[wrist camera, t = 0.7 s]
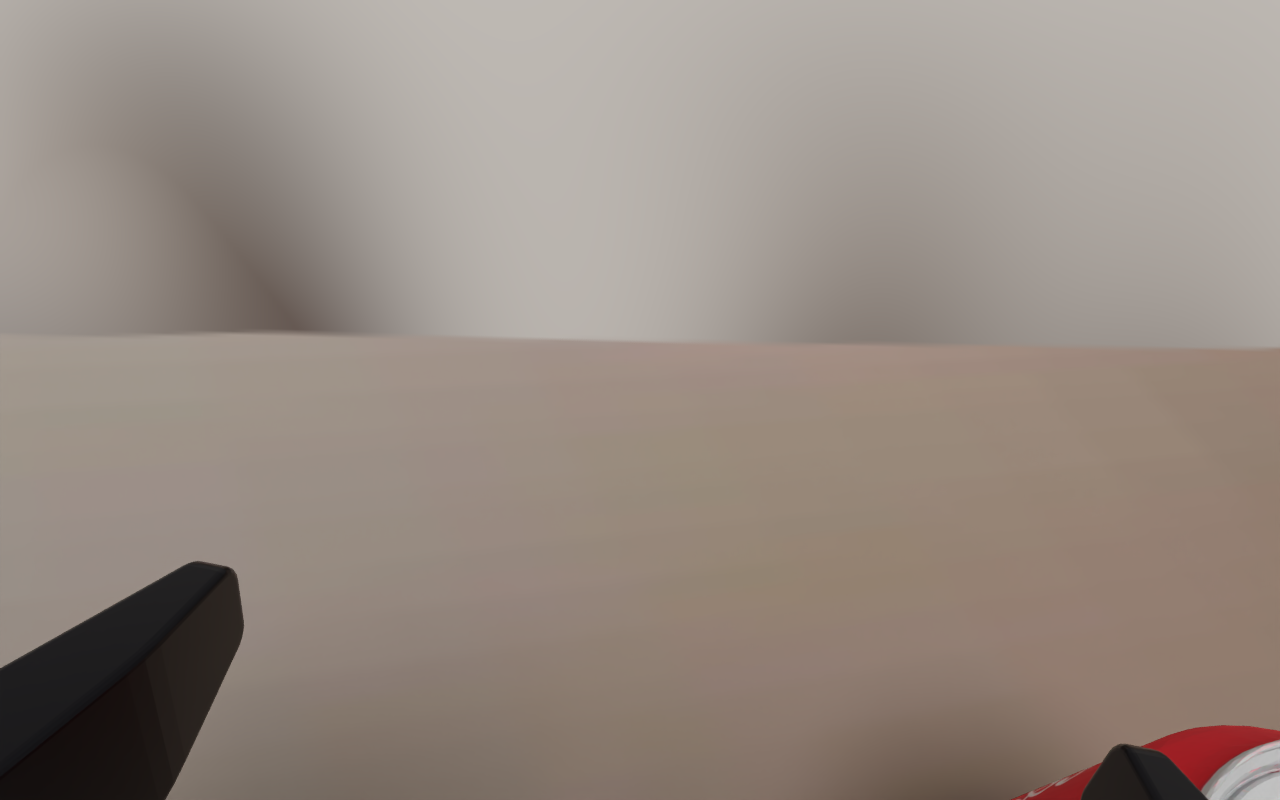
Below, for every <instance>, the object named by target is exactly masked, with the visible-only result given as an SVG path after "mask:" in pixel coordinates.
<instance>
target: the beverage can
mask: <svg viewBox="0 0 1280 800" xmlns="http://www.w3.org/2000/svg"><path fill="white" fill-rule="evenodd" d="M1141 747H1144V748H1149V749H1154V750H1157V751H1160V752H1162V753H1163V754H1165V755H1166V756H1167V757H1168V758H1169V759H1171V760H1172V761H1173V762H1174V764H1175V765H1176V766H1177V767H1178V768H1179V769H1180V770H1181V771H1182V772H1183V773H1184V774H1185V775H1186V776H1187V777H1188V778H1189V779H1190V781H1191V782H1192V783H1193V784H1194V785H1195V786H1196V787H1197V788H1198V789H1199V790H1200V791H1201V792H1202V793H1203V794H1204V795H1205V796H1206V798H1207V799H1208V800H1280V731H1276V730H1270V729H1264V728H1258V727H1251V726H1226V725H1222V726H1209V727H1199V728H1193V729H1188V730H1184V731H1181V732H1178V733H1174V734H1171V735H1168V736H1166V737H1163V738H1161V739H1158V740H1156V741H1153V742H1151V743H1148V744H1146V745H1144V746H1141ZM1100 765H1101V763H1099V764H1097V765H1095V766H1092V767H1090V768H1087V769H1085V770H1082V771H1080V772H1077V773H1075V774H1072V775H1070V776H1068V777H1065V778H1063V779H1060V780H1058V781H1055V782H1053V783H1050V784H1048V785H1046V786H1043V787H1041V788H1038V789H1036V790H1033V791H1031V792H1028V793H1026V794H1024V795H1021V796H1019V797H1016V798H1014V799H1011V800H1080V799H1081V795H1082V792H1083V790H1084V788H1085V787H1086V785H1087V784H1088V782H1089V781H1090V779H1091V778H1092V776H1093V775H1094V773H1095V772H1096V770H1097V769H1098V768H1099V766H1100Z"/></svg>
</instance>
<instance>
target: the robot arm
mask: <svg viewBox="0 0 1280 800" xmlns="http://www.w3.org/2000/svg"><path fill="white" fill-rule="evenodd" d="M243 629H244V620H243V612H242V605H241V598H240V591H239V584H238V578H237V574H236V573H235V571H234V570H233V569H232V568H230V567H227V566H222V565H217V564H212V563H207V562H201V561H195V562H191V563H188V564H186V565H184V566H182V567H180V568H178V569H177V570H175V571H173V572H171V573H169V574H168V575H166V576H164V577H162V578H161V579H159V580H157V581H155V582H153V583H152V584H150V585H148V586H146V587H145V588H143V589H141V590H139V591H137V592H136V593H134V594H132V595H130V596H128V597H127V598H125V599H123V600H121V601H120V602H118V603H116V604H114V605H112V606H111V607H109V608H107V609H105V610H104V611H102V612H100V613H98V614H96V615H95V616H93V617H91V618H89V619H87V620H86V621H84V622H82V623H80V624H79V625H77V626H75V627H73V628H71V629H70V630H68V631H66V632H64V633H62V634H61V635H59V636H57V637H55V638H54V639H52V640H50V641H48V642H46V643H45V644H43V645H41V646H39V647H38V648H36V649H34V650H32V651H30V652H29V653H27V654H25V655H23V656H21V657H20V658H18V659H16V660H14V661H13V662H11V663H9V664H7V665H5V666H4V667H2V668H0V800H165V799H166V797H167V795H168V794H169V792H170V790H171V788H172V787H173V785H174V783H175V781H176V779H177V777H178V775H179V773H180V771H181V769H182V767H183V765H184V763H185V761H186V759H187V757H188V755H189V752H190V750H191V748H192V746H193V744H194V742H195V740H196V737H197V735H198V733H199V731H200V729H201V727H202V725H203V722H204V720H205V718H206V716H207V714H208V712H209V710H210V707H211V705H212V703H213V701H214V699H215V697H216V695H217V692H218V690H219V688H220V686H221V684H222V682H223V680H224V677H225V675H226V673H227V671H228V669H229V667H230V665H231V662H232V660H233V658H234V656H235V654H236V652H237V650H238V647H239V645H240V642H241V639H242V635H243ZM1080 800H1208V799H1207V798H1206V796H1205V795H1204V794H1203V793H1202V792H1201V791H1200V790H1199V789H1198V788H1197V787H1196V786H1195V785H1194V784H1193V783H1192V782H1191V781H1190V779H1189V778H1188V777H1187V776H1186V775H1185V774H1184V773H1183V772H1182V771H1181V770H1180V769H1179V768H1178V767H1177V766H1176V765H1175V764H1174V762H1173V761H1172V760H1171V759H1169V758H1168V757H1167V756H1166V755H1165V754H1163V753H1162V752H1160V751H1157V750H1154V749H1149V748H1144V747H1139V746H1134V745H1129V744H1119V745H1117V746H1115V747H1113V748H1112V749H1111V750H1110V751H1109V753H1108V754H1107V756H1106V757H1105V759H1104V760H1103V762H1102V763H1101V765H1100V766H1099V768H1098V769H1097V770H1096V772H1095V773H1094V775H1093V776H1092V778H1091V779H1090V781H1089V782H1088V784H1087V785H1086V787H1085V788H1084V790H1083V792H1082V795H1081V799H1080Z"/></svg>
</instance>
